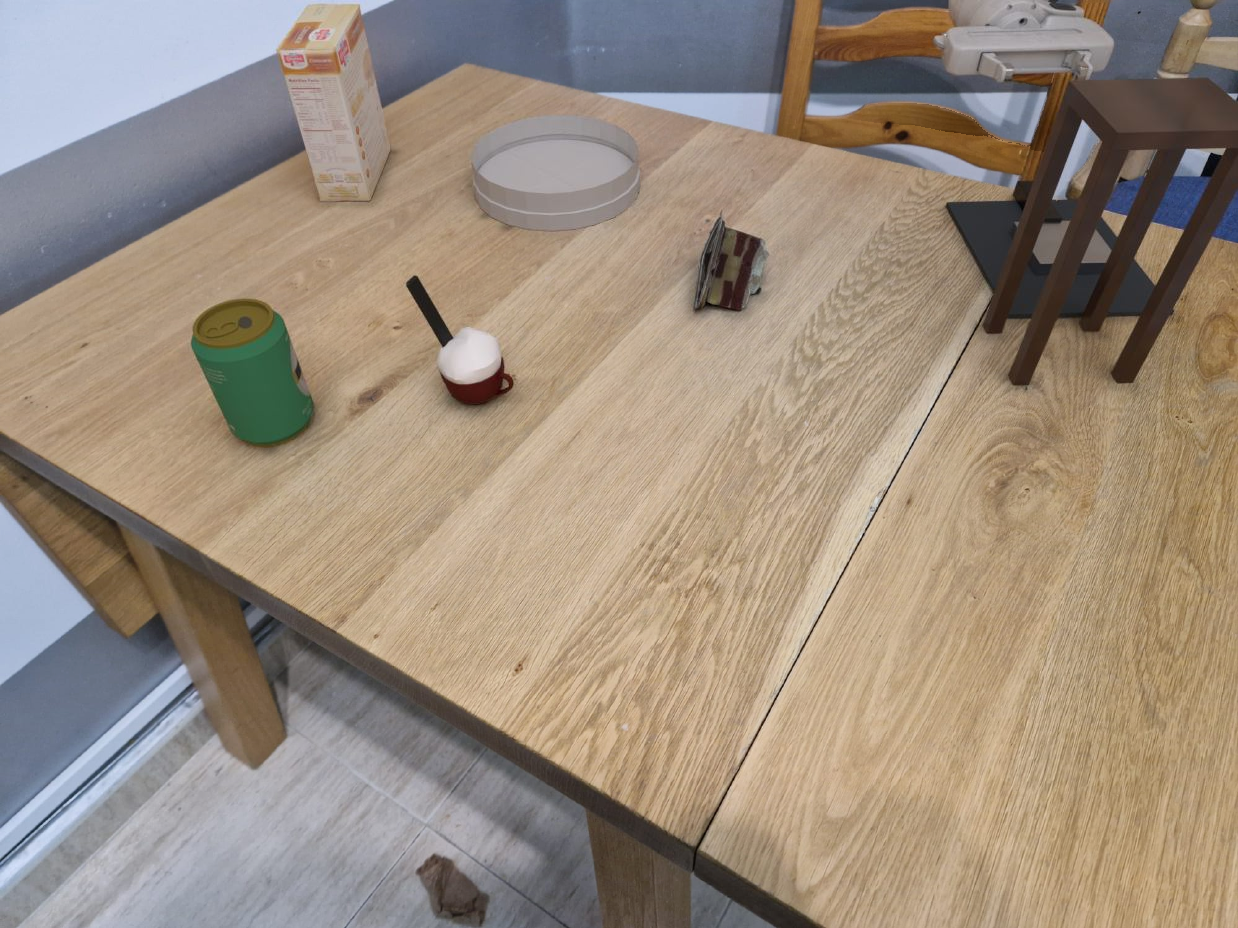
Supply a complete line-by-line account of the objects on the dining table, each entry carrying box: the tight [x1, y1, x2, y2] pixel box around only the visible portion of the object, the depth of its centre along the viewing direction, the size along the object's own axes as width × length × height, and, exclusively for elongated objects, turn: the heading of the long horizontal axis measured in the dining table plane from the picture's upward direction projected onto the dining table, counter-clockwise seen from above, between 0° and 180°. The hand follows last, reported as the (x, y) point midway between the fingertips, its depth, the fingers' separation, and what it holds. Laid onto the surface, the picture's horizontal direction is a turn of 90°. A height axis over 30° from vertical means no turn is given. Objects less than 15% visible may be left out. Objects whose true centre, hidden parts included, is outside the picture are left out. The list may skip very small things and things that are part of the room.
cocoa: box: [405, 274, 515, 405], centre depth 82 cm, size 10×6×12 cm, turn 40°
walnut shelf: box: [982, 77, 1238, 386], centre depth 80 cm, size 12×10×26 cm
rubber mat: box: [945, 198, 1175, 319], centre depth 102 cm, size 18×24×1 cm
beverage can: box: [190, 298, 315, 448], centre depth 80 cm, size 8×8×12 cm
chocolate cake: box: [692, 210, 770, 311], centre depth 98 cm, size 10×7×12 cm
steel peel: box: [1010, 180, 1111, 275], centre depth 104 cm, size 9×18×2 cm, turn 1°
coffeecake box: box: [275, 3, 392, 202], centre depth 112 cm, size 15×7×20 cm, turn 0°
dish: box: [470, 114, 641, 232], centre depth 113 cm, size 22×22×5 cm
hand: (1046, 75), depth 104 cm, fingers open, 8 cm apart
